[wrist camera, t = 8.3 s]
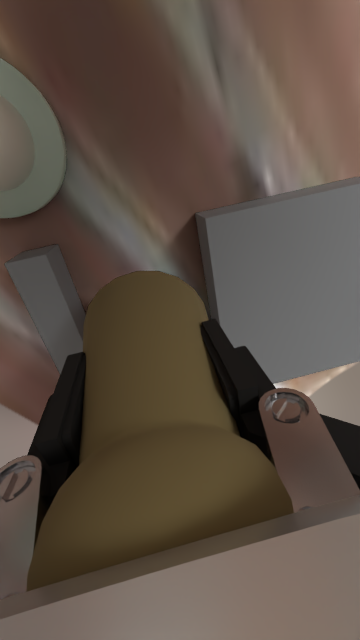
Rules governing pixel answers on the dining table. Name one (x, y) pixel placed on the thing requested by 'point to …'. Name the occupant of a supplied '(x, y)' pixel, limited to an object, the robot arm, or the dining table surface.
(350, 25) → the dining table surface
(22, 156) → the bobbin post
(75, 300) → the gray block
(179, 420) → the cork
